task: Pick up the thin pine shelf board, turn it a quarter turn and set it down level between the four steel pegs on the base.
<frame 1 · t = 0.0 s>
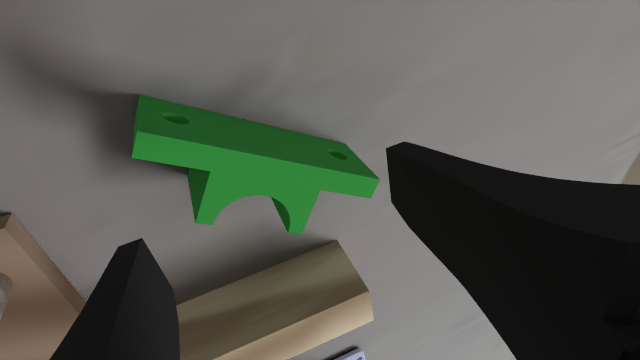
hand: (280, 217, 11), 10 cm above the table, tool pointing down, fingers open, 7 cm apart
green block: (243, 148, 21), on the table
pine shelf board: (258, 286, 27), on the table
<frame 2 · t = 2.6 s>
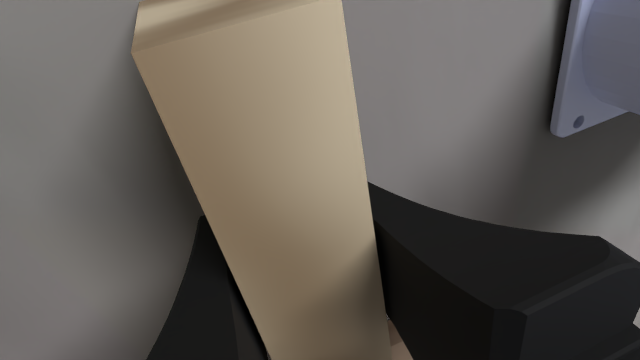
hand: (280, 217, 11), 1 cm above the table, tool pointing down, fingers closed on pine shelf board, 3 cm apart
pine shelf board: (267, 191, 12), on the table, touching gripper
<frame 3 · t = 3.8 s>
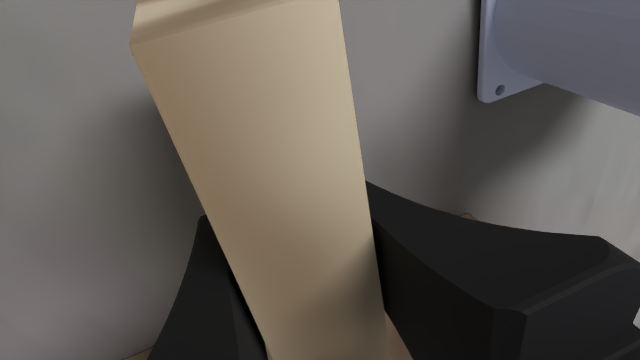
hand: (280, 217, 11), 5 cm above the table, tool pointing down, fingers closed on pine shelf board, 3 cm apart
pine shelf board: (266, 188, 13), point 4 cm above the table, touching gripper
peg base: (313, 351, 24), on the table
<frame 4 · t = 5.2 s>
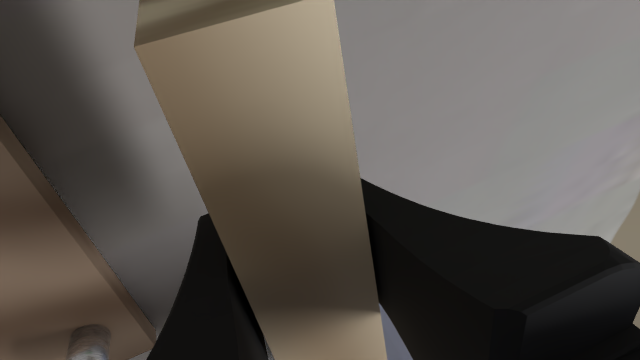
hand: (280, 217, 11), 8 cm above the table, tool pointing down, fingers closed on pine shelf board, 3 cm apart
pine shelf board: (264, 184, 13), point 7 cm above the table, touching gripper
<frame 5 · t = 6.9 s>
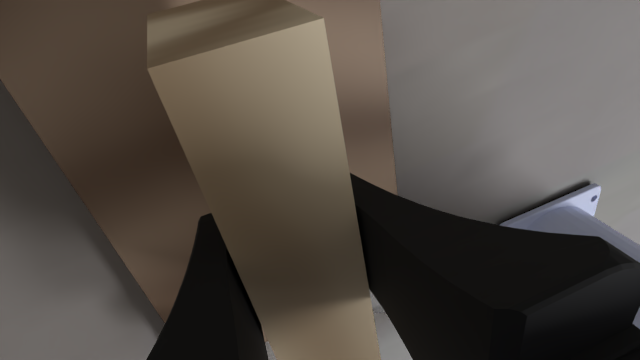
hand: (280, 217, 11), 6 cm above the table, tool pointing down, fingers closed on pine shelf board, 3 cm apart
pine shelf board: (264, 187, 13), point 3 cm above the table, touching gripper
peg base: (242, 137, 16), on the table
when the fingers open (4 cm above the table, at t = 8.0 s): pine shelf board stays where it is, resting on peg base.
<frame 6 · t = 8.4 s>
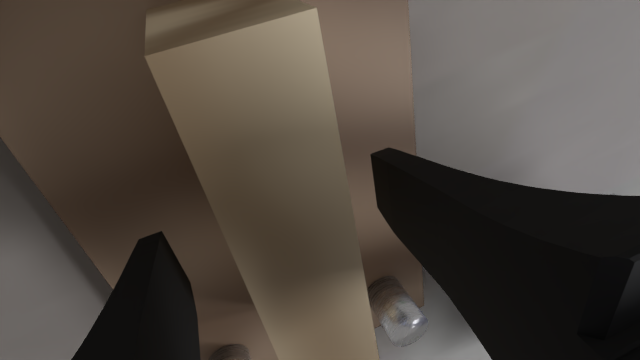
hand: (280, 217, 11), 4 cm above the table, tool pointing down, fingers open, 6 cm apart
pine shelf board: (262, 181, 14), point 1 cm above the table, touching peg base
peg base: (252, 158, 14), on the table
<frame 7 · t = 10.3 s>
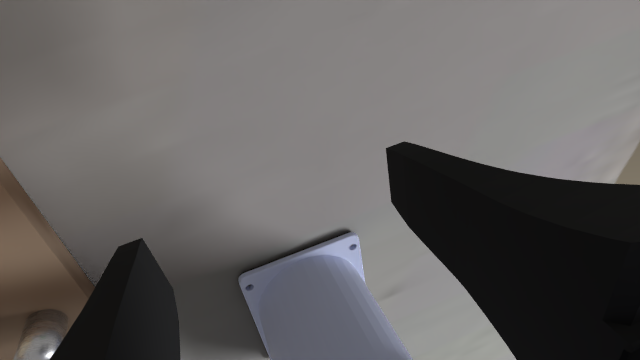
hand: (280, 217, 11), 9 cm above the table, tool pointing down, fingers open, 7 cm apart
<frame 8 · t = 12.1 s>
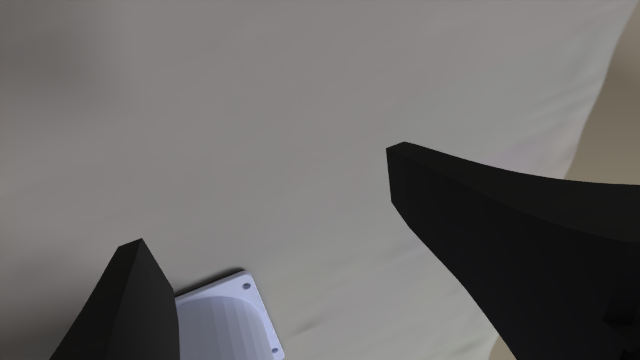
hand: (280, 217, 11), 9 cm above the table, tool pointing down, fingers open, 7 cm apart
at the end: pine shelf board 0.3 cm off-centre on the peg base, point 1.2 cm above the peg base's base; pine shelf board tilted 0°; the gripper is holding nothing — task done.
